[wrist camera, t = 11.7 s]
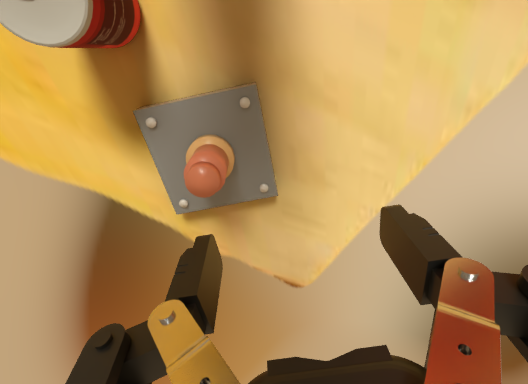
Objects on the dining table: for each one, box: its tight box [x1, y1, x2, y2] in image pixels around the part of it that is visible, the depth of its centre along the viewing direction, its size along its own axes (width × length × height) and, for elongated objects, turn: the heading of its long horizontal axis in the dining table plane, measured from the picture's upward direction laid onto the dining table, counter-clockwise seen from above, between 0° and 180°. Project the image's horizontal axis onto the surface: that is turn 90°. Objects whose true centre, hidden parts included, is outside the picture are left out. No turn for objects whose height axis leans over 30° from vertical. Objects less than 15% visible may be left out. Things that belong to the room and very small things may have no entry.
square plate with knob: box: [133, 82, 278, 214], centre depth 35 cm, size 15×15×4 cm
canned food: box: [0, 0, 141, 48], centre depth 24 cm, size 8×8×11 cm
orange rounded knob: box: [184, 144, 229, 198], centre depth 31 cm, size 5×5×6 cm
